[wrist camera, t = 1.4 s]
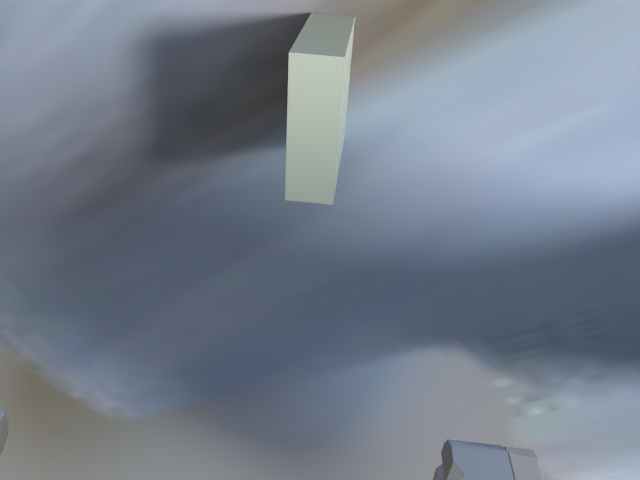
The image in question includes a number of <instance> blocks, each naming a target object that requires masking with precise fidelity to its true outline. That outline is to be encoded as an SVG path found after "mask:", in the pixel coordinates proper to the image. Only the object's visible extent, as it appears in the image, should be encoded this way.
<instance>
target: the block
mask: <svg viewBox="0 0 640 480" xmlns="http://www.w3.org/2000/svg"><path fill="white" fill-rule="evenodd" d="M354 21H355V16H347V15H335V14H323V13H311V14H310V16H309V18H308V20H307V21H306V23H305V25H304V27H303V28H302V30H301V32H300V34H299V35H298V37H297V39H296V41H295V42H294V44H293V46H292V48H291V49H290V51H289V64H288V101H287V138H286V175H285V200H289V201H299V202H309V203H319V204H329V205H333V202H334V196H335V190H336V184H337V178H338V173H339V167H340V161H341V155H342V149H343V143H344V136H345V125H346V113H347V102H348V90H349V79H350V67H351V56H352V44H353V33H354Z"/></svg>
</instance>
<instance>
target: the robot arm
mask: <svg viewBox="0 0 640 480" xmlns="http://www.w3.org/2000/svg"><path fill="white" fill-rule="evenodd" d="M7 436H8V420H7V416H6V413H5V412H4V411H2V410H1V409H0V454H1V453H2V451H3V448H4V445H5V442H6V439H7ZM441 454H442V463H443V464H442V465H440V466H439V467H437V468H436V470H435V474H434V478H433V480H544V477H543V473H542V470H541V466H540V463H539V460H538V456H537V455H536V453H535V452H534V451H533V450H529V449H521V448H513V447H503V446H502V445H493V444H483V443H475V442H466V441H457V440H447V441H446V442H445V443H444V446H443V449H442V452H441Z"/></svg>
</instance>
